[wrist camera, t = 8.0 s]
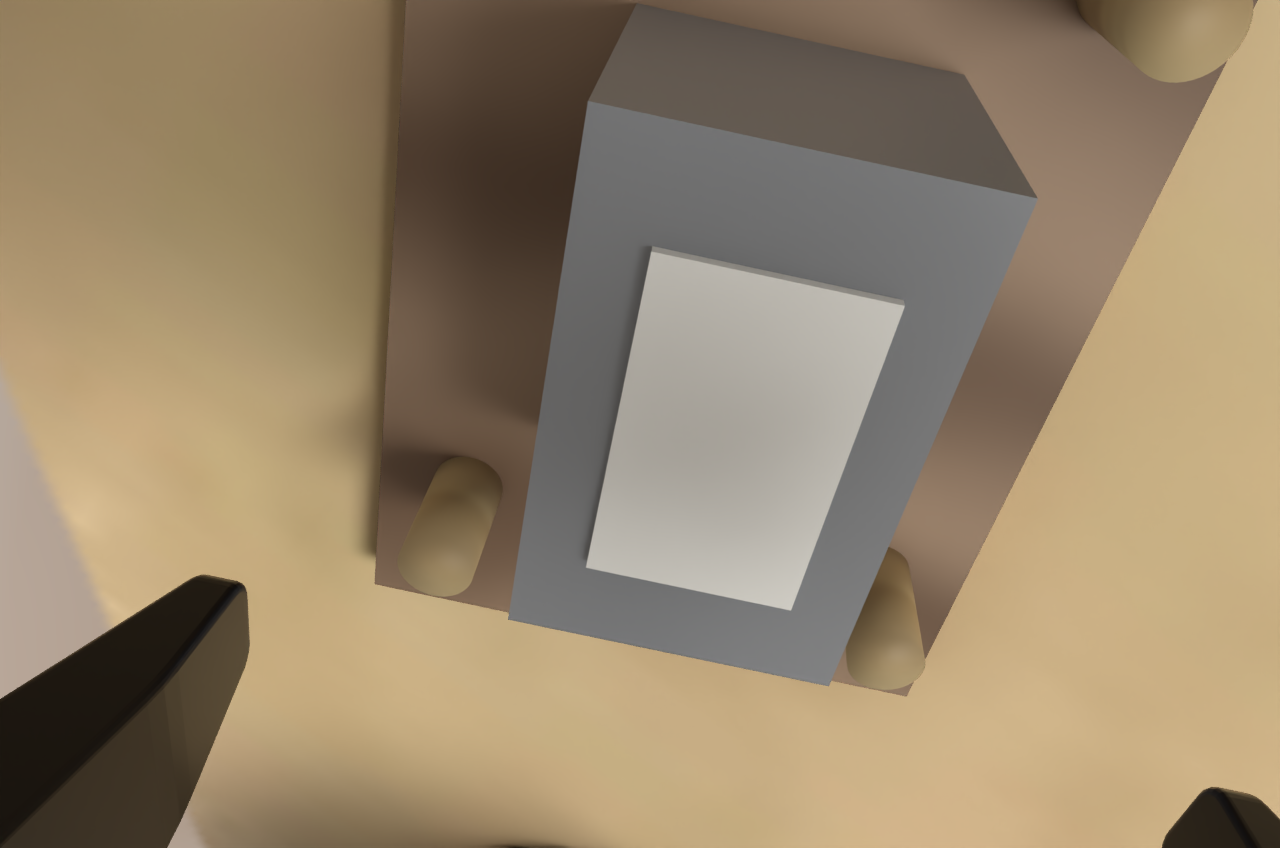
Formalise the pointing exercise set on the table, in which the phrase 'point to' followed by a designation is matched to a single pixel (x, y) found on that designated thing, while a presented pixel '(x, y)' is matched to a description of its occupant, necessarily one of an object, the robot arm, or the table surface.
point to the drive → (755, 337)
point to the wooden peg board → (538, 226)
